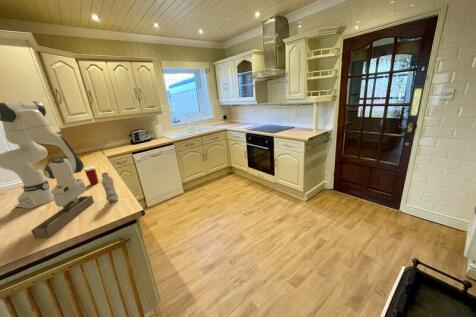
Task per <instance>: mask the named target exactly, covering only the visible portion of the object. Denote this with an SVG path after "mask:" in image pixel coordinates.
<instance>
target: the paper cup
mask: <svg viewBox="0 0 476 317" xmlns="http://www.w3.org/2000/svg"><path fill="white" fill-rule="evenodd" d="M83 171H84V172H85V175H86V176H87V177H86V178H87V180H88V181H89V184H90V185H91V186H95V185H97V184H99V183H100V181H99V178H98V174H97V170H96V166H94V165H93V166H92V165H91V166H87V167H84V168H83Z"/></svg>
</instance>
